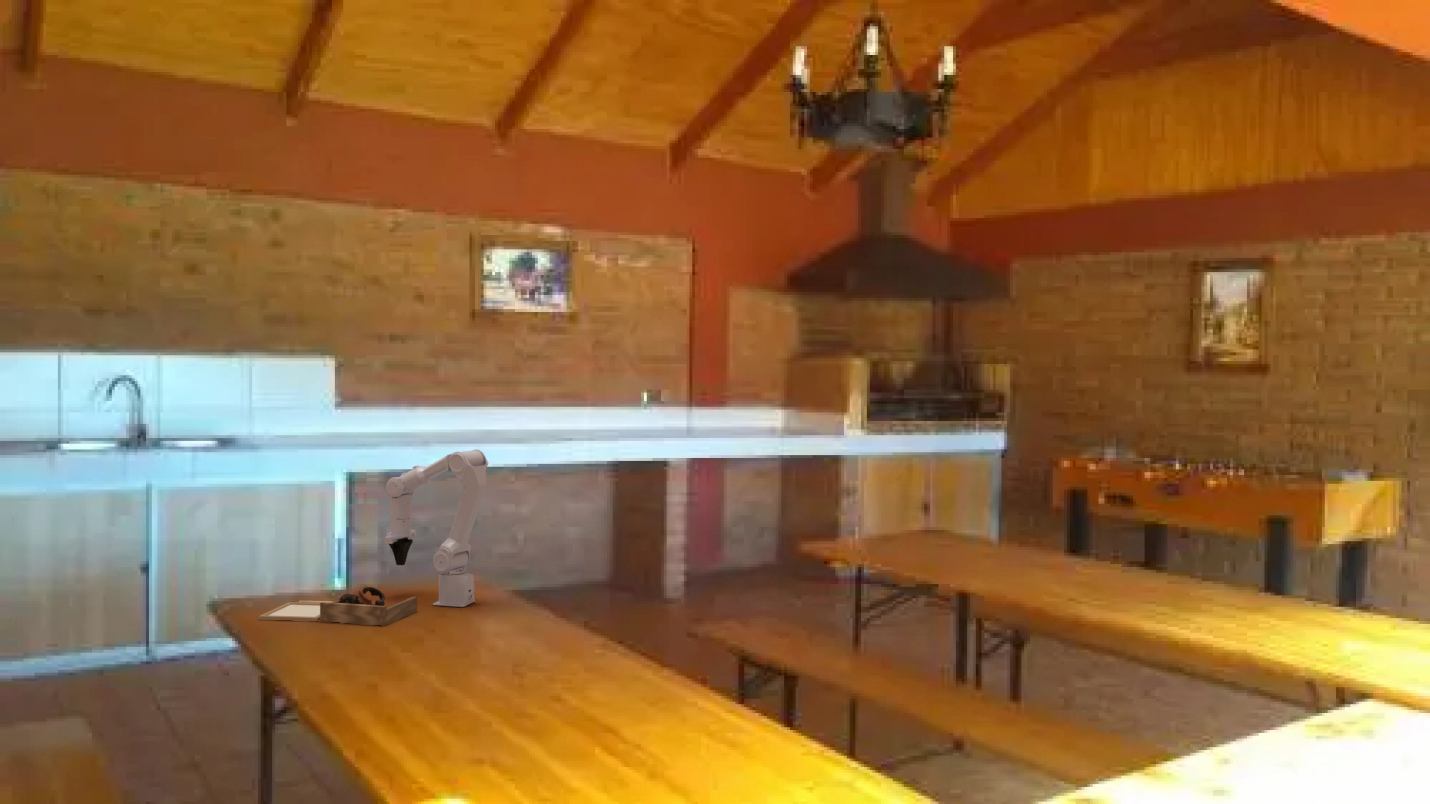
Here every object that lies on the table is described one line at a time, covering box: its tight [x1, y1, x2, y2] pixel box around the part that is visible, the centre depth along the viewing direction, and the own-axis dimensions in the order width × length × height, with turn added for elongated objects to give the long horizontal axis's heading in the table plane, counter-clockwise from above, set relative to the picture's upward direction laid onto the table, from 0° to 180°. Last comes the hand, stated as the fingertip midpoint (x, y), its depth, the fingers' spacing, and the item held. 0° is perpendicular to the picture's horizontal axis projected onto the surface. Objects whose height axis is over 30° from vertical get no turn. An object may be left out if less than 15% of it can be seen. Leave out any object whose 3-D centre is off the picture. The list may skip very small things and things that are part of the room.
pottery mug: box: [338, 585, 386, 606], centre depth 303 cm, size 12×9×8 cm
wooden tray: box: [320, 593, 418, 627], centre depth 300 cm, size 18×18×5 cm
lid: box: [258, 600, 335, 623], centre depth 304 cm, size 16×20×1 cm
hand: (400, 564), depth 325 cm, fingers closed
